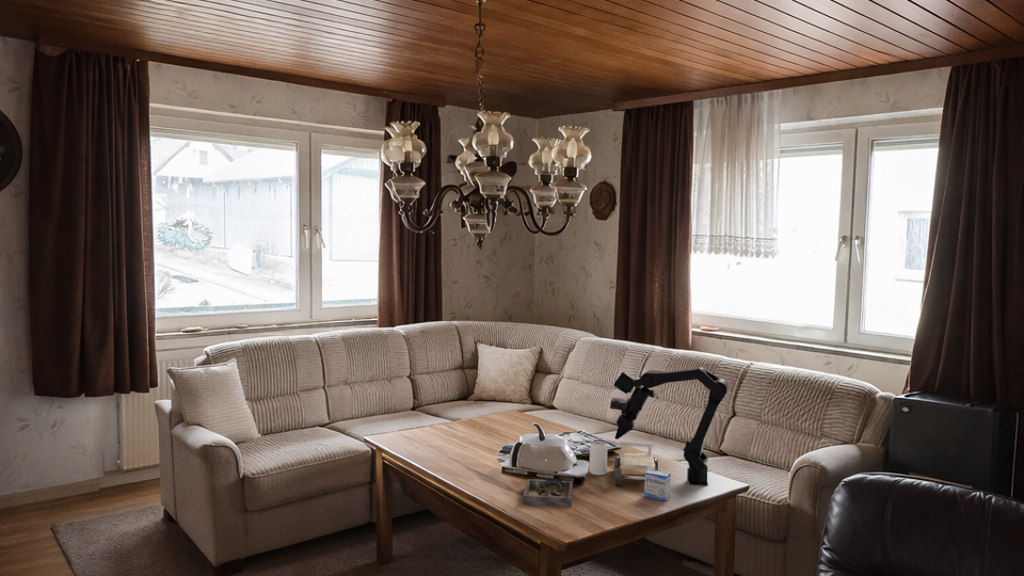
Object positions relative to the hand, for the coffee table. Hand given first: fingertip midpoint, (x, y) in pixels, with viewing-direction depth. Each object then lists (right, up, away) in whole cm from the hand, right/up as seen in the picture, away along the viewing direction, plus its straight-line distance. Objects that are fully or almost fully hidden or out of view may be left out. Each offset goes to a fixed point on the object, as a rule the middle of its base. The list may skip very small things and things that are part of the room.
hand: (617, 434), depth 270 cm
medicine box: (+10, -16, -26) cm, 32 cm away
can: (-8, -14, -2) cm, 16 cm away
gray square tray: (-28, -16, -27) cm, 41 cm away
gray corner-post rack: (+6, -15, -8) cm, 18 cm away
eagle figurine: (-27, -16, -26) cm, 41 cm away
